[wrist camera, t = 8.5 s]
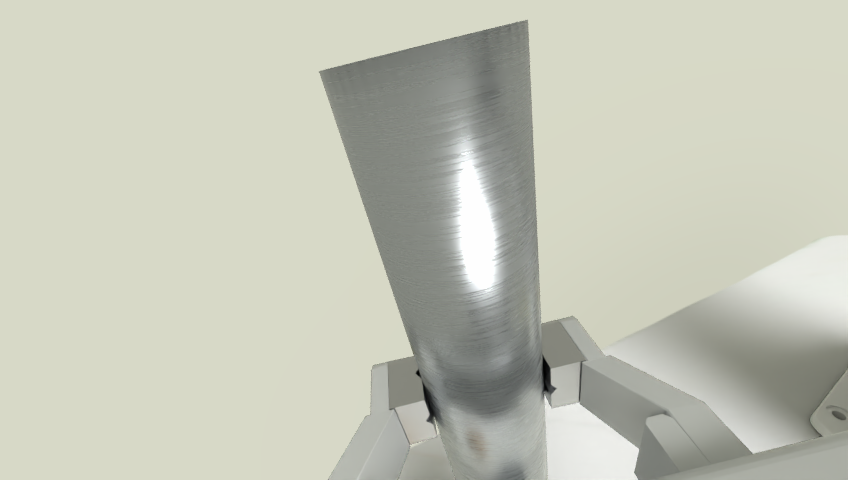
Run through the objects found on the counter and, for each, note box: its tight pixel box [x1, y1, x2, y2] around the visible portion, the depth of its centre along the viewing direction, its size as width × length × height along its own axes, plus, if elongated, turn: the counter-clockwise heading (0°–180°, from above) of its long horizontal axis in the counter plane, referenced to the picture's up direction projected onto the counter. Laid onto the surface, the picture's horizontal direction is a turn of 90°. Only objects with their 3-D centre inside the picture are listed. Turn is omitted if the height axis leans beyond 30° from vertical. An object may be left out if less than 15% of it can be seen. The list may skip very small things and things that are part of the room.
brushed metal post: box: [319, 20, 548, 480], centre depth 12 cm, size 7×3×18 cm, turn 166°
